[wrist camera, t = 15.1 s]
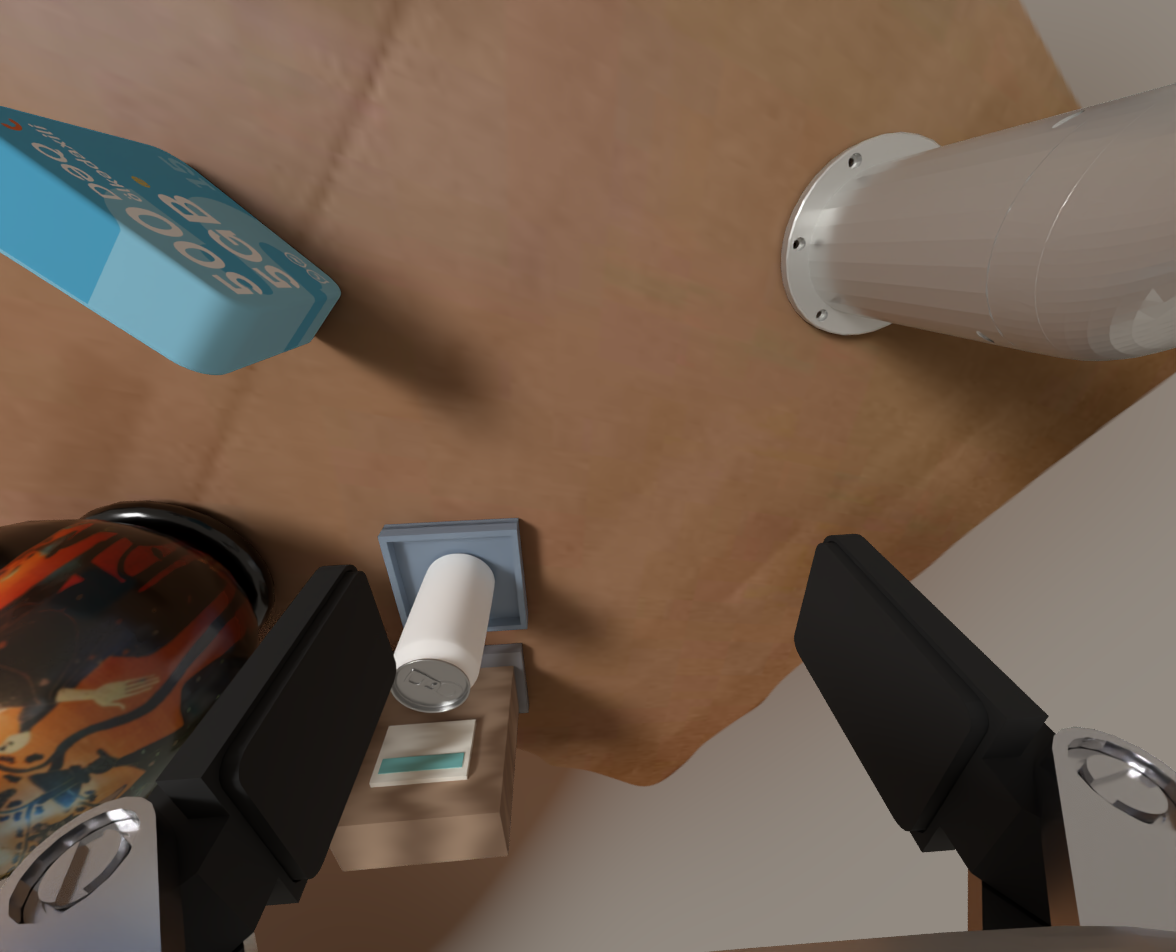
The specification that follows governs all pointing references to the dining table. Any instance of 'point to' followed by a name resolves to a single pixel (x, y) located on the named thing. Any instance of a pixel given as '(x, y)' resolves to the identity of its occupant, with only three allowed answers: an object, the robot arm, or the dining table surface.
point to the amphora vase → (113, 654)
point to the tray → (484, 539)
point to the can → (444, 635)
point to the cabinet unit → (439, 776)
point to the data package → (153, 247)
